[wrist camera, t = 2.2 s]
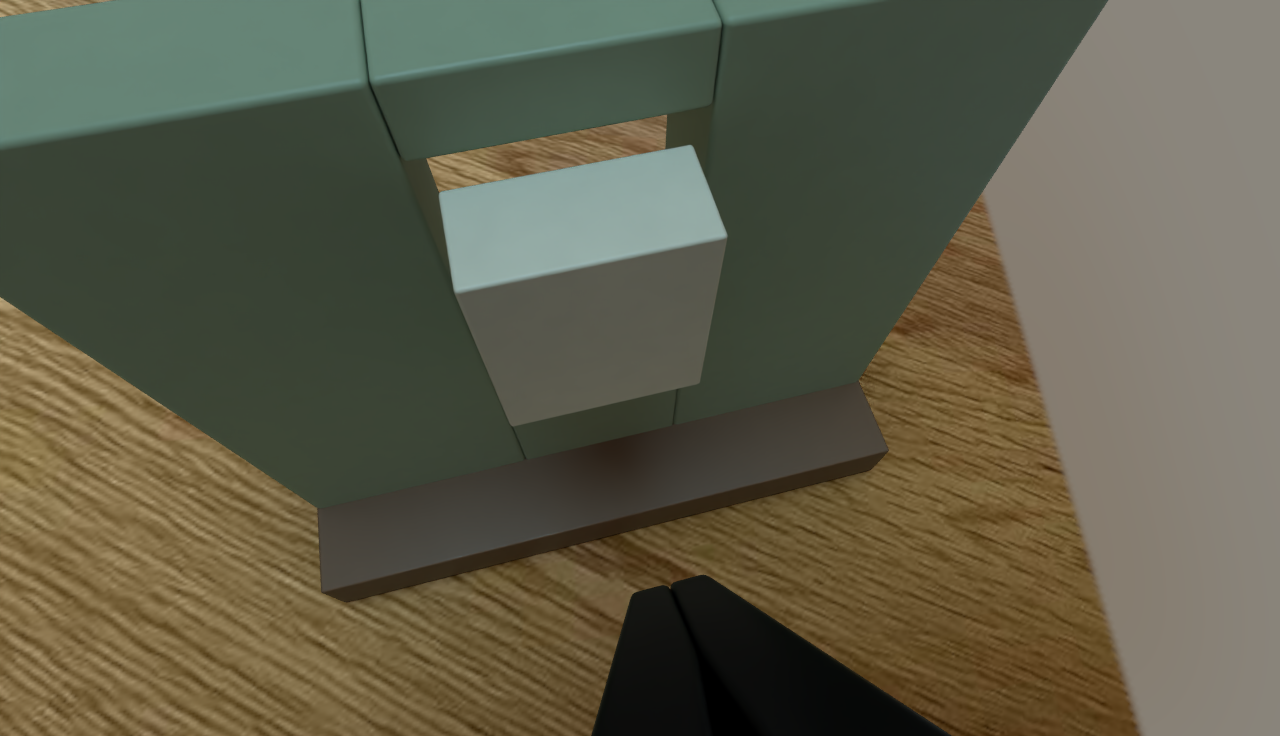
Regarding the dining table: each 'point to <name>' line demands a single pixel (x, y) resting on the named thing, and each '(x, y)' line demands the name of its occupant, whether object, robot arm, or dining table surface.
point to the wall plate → (416, 248)
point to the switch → (588, 280)
